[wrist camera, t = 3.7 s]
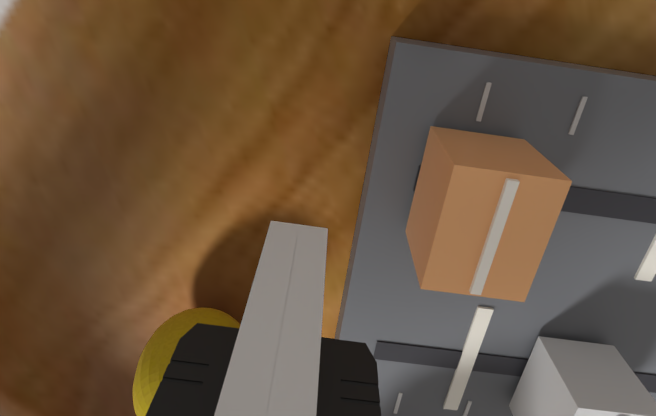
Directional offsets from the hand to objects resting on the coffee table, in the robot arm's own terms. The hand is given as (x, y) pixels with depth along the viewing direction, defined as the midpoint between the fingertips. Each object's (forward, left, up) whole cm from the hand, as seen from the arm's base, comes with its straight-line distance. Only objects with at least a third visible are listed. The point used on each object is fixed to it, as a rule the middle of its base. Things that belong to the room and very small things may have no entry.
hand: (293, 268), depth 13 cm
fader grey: (+15, -10, -9) cm, 20 cm away
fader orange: (+7, 0, -9) cm, 11 cm away
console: (+13, -5, -11) cm, 18 cm away
